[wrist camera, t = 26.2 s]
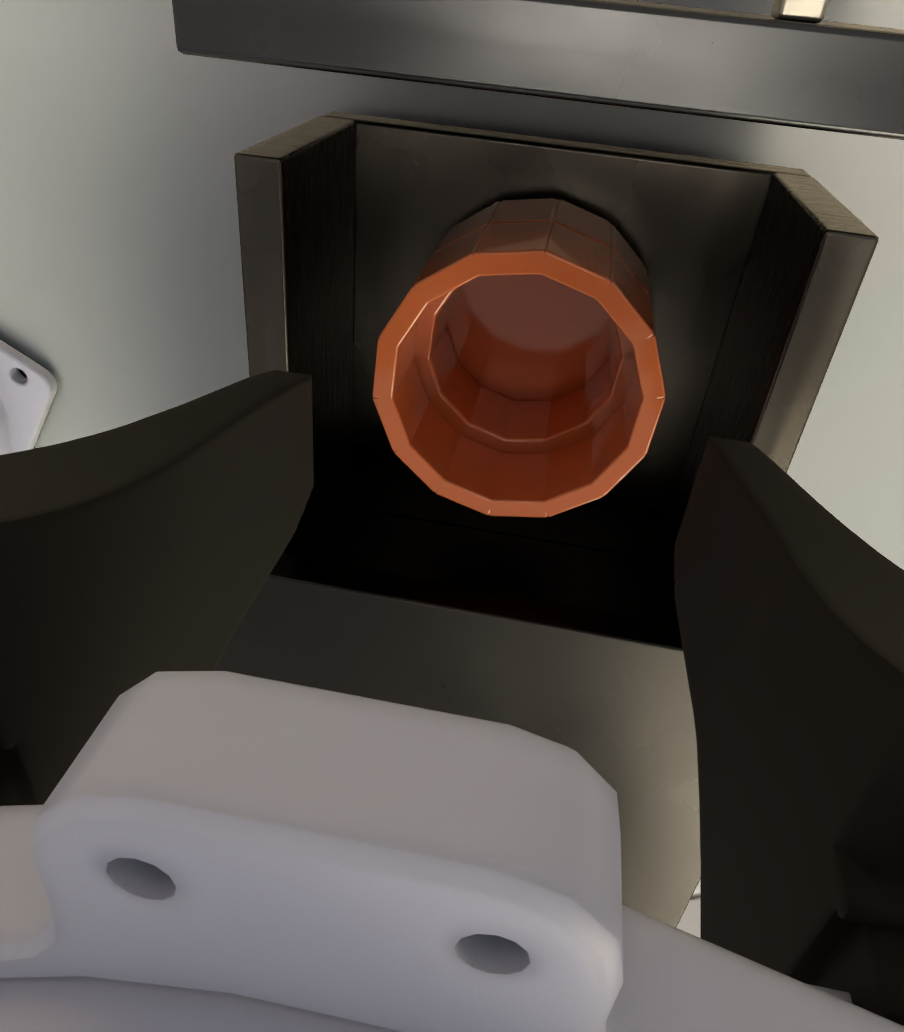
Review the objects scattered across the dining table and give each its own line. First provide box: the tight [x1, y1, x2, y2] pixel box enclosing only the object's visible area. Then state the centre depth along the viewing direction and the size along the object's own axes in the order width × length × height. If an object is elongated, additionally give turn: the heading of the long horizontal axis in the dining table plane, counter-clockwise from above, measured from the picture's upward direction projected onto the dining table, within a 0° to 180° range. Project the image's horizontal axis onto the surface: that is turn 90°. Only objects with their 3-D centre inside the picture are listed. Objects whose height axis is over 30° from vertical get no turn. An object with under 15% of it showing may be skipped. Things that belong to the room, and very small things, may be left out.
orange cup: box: [372, 198, 666, 518], centre depth 16 cm, size 5×5×4 cm
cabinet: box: [215, 554, 701, 928], centre depth 22 cm, size 14×13×8 cm
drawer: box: [172, 0, 904, 623], centre depth 15 cm, size 19×11×6 cm, turn 175°
